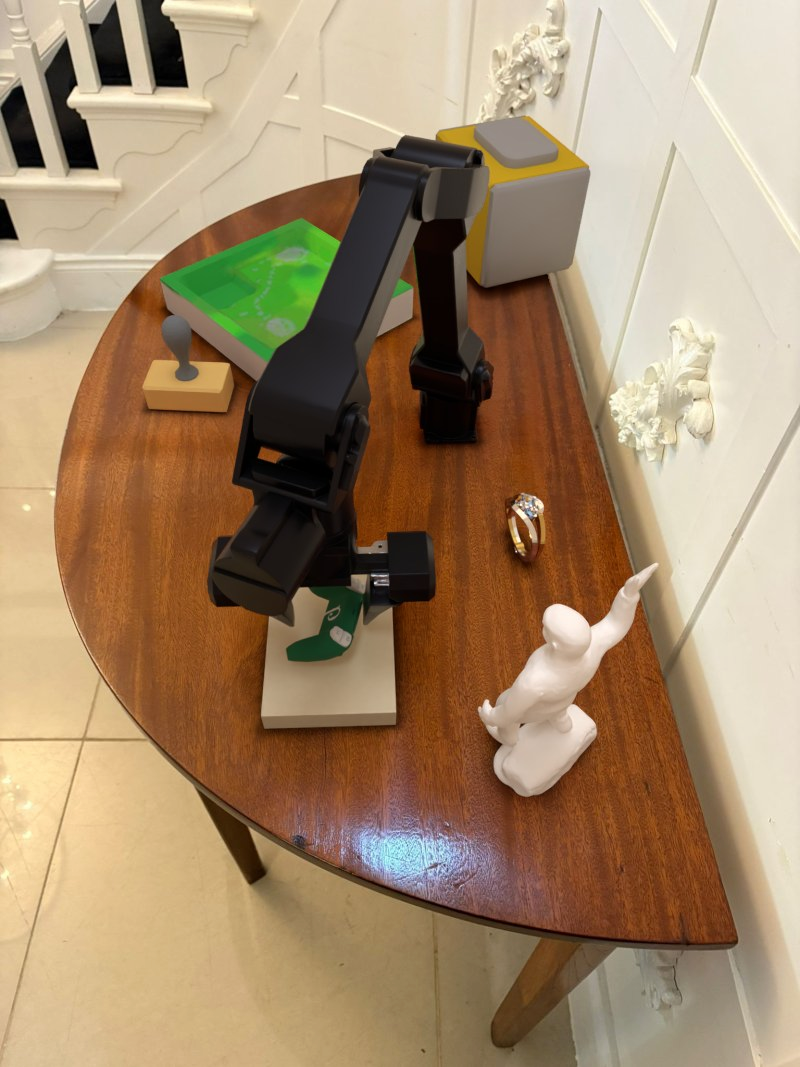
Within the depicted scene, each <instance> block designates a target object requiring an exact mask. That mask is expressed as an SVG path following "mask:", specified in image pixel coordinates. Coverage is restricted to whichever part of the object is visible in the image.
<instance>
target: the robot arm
mask: <svg viewBox="0 0 800 1067" xmlns="http://www.w3.org/2000/svg"><path fill="white" fill-rule="evenodd" d="M489 177H490V171H489V167H488V166H486V165H485V158H484V154H483V152H482V150H478V149H477V148H473V147H468V146H463V145H457V144H452V143H447V142H441V141H436V140H435V139H430V138H426V137H425V138H424V137H420V136H413V135H409V134H404V135H403V136H401V137H400V139H399V140H398V142H397V144H396V146H395V147H391V146H389V147H382V148H376V149H373V150H372V157H370V158H368V159H367V160H366V161H365V163H364V165H363V167H362V171H361V173H360V177H359V183H358V199H357V202H356V203H355V206H354V209H353V211H352V214H351V216H350V219H349V221H348V223H347V225H346V228H345V230H344V233H343V235H342V238H341V240H340V245H339V247H338V250H337V252H336V254H335V257H334V259H333V262H332V264H331V266H330V269H329V271H328V274H327V276H326V278H325V281H324V283H323V286H322V288H321V290H320V293H319V295H318V298H317V300H316V303H315V305H314V307H313V310H312V312H311V315H310V317H309V319H308V321H307V322H306V324H305V326H304V328H303V330H301V331H300V332H298V333H297V334H295V335H294V336H292V337H291V338H290V339H288V340H287V341H285V342H284V343H282V344H281V345H279V346H278V347H277V348H276V349H275V350H274V352H273V354H272V356H271V358H270V359H269V361H268V363H267V365H266V367H265V369H264V371H263V373H262V374H261V376H260V378H259V379H258V380H257V381H256V380H255V382H254V383H253V384H252V386H251V388H250V389H249V393H248V394H247V398H246V401H245V407H244V412H243V417H242V423H241V429H240V433H239V439H238V444H237V451H236V454H235V456H236V457H235V462H234V467H233V471H232V472H233V473H232V478H231V483H232V485H234V486H237V487H240V488H244V489H247V490H250V491H252V498H253V505H252V508H251V509H250V510H249V511H248V513H247V515H246V516H245V517H244V519H243V521H242V522H241V523H240V525H239V526H238V527H237V529H236V531H235V532H234V534H231V535H230V534H228V535H227V534H225V535H219V536H218V537H217V538H215V540H214V541H213V542H212V544H211V551H210V559H209V564H208V571H207V579H206V587H207V588H206V589H207V593H208V597H209V601H210V603H211V604H213V605H214V606H215V607H216V608H235V607H236V608H237V607H238V608H241V607H242V609H244V610H246V611H249V612H252V613H255V614H257V615H261V616H266V617H269V616H270V617H273V618H275V619H277V620H278V621H280V622H282V623H284V624H286V625H288V626H289V627H294V625H295V615H294V607H293V603H292V599H293V598H294V596H295V594H296V592H297V591H298V589H299V588H304V587H344V586H351V575H367V580H366V586H365V593H364V599H363V625H368V624H369V623H370V622H371V621H372V620H373V619H375V618H376V617H377V616H378V615H379V614H381V613H383V612H384V611H386V610H388V609H389V608H391V607H392V608H394V607H400V606H403V605H404V603H427V602H428V603H429V602H430V601H431V600H433V599H434V598H435V597H436V591H437V590H436V589H437V588H436V587H437V571H436V561H435V548H434V538H433V537H432V536H431V535H430V534H429V533H428V532H427V531H426V530H405V531H403V530H400V531H386V540H385V539H384V540H383V539H381V540H376V541H374V542H373V543H372V544H371V546H357V541H358V518H357V510H356V507H355V496H354V495H355V494H354V490H355V487H356V483H357V481H358V476H359V473H360V470H361V465H362V462H363V459H364V455H365V451H366V449H367V445H368V442H369V439H370V434H371V425H370V423H369V419H370V414H369V408H370V405H371V402H372V394H371V389H370V383H369V379H368V374H367V368H366V367H367V364H368V362H369V358H370V355H371V351H372V350H373V347H374V344H375V341H376V339H377V334H378V332H379V329H380V327H381V324H382V321H383V319H384V316H385V314H386V311H387V309H388V306H389V304H390V301H391V299H392V296H393V293H394V291H395V288H396V286H397V283H398V281H399V278H400V279H401V276H402V273H403V271H404V268H405V265H406V263H407V261H408V257H409V255H410V253H411V250H412V253H413V261H414V270H415V277H416V278H415V279H416V285H417V286H416V287H417V294H418V296H417V297H418V304H419V312H420V320H421V328H422V333H421V335H420V337H419V339H418V343H416V344H415V345H414V347H413V348H412V351H411V354H410V358H409V364H408V374H409V377H410V385H411V390H413V391H416V392H417V391H419V393H418V394H419V395H418V425H419V429H420V430H421V431H422V432H423V433H422V434H423V441H424V443H425V444H427V445H428V444H474V443H476V442H478V434H477V426H476V424H477V416H478V410H479V408H480V407H481V405H482V403H483V402H485V401H487V400H488V401H489V400H490V399H491V398H492V396H493V388H494V383H493V381H494V372H495V367H494V366H493V365H492V363H490V362H489V360H486V351H485V343H484V340H483V339H482V338H481V337H480V336H479V335H478V334H477V333H476V332H475V331H474V330H473V329H472V328H471V327H470V325H469V310H468V309H469V308H468V306H469V305H468V277H467V269H466V243H465V239H466V238H467V236H468V233H469V231H470V229H471V226H472V224H473V222H474V219H475V217H476V215H477V213H479V212H480V211H481V209H482V207H483V205H484V202H485V199H486V195H487V191H488V186H489ZM262 449H265V450H269V451H272V452H276V453H278V454H279V453H280V454H281V455H280V456H279V457H278V459H277V460H276V461H275V462H273V461H270V460H267V459H264V458H260V457H259V456H260V452H261V450H262Z"/></svg>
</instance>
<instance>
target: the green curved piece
mask: <svg viewBox="0 0 800 1067" xmlns="http://www.w3.org/2000/svg"><path fill="white" fill-rule="evenodd" d="M308 588H309V589H310V591H311V592H312V593H313V594H315V595H316V596H318V597H321V598H323V599H326V600H329V603H328V606H327V609H326V612H325V615H324V618H323V621H322V625H321V628H320V631H319V634H318V635H315V636H311V637H308V638H304V639H301V640H299V641H296V642H294V643H293V644H291V645H289V646H288V647H287V648H286V653H287V658H288V661H296V662H314V661H324V660H329V659H332V658H335V657H337V656H342V655H343V653H344V652H345V651H346V650H348V649H349V647H350V645H351V643H352V641H353V638H354V636H353V635H354V632H355V629H356V626H357V623H358V619H359V615H360V612H361V608H362V604H363V599H364V593H365V584H364V583H363V582H362V581H360V580H358V579H356V578H354V577H351V586H344V587H308Z"/></svg>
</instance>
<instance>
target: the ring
mask: <svg viewBox="0 0 800 1067" xmlns="http://www.w3.org/2000/svg"><path fill="white" fill-rule="evenodd" d="M544 511H545V506H544V503H543V501H542V500H540V498H538V497H537V496H535V495H533V494H530V493H527V492H521V493H517V494H514V495H513V496H511V497H507V498H505V499H504V514H505V521H506V525H507V529H508V534H509V537H510V540H511V543H512V546H513V551H514V553H515V554H516V555H517V556H518V557H519V559H520V560H522V561H523V562H532V561H537V560H538V559H539V558H540V557H541V555H542V553H543V551H544V547H545V544H546V534H547V533H546V522H545V517H544V514H543V513H544ZM516 515H517V516H518V517H519V518H520V520H521V521H522V522H523V524H524V525H525V527H526V528H527V530H528V533H529V537H530V549H529V552H528V551H527V550H526V549H525V544H524V542H523V541H522V540H521V538H520V535H519V531H518V528H517V522H516ZM533 522H535V525H536V528H535V526H534V524H533ZM536 531H537V532H536Z"/></svg>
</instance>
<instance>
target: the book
mask: <svg viewBox="0 0 800 1067" xmlns="http://www.w3.org/2000/svg"><path fill="white" fill-rule="evenodd" d="M351 577H354V578H356V579H358V580H360V581H362V582H363V583H364V584H365V586H366V580H367V575H351ZM292 603H293V607H294V615H295V625H294V627H289V626H288V625H286V624H284V623H282V622H280V621H278V620H277V619H275V618H273V617H270V616H268V624H267V638H266V649H265V660H264V661H265V662H264V674H263V684H262V685H263V686H262V698H261V709H260V710H261V711H260V719H261V721H262V725H263V728H264V730H266V729H267V730H268V729H296V728H297V729H298V728H301V729H302V728H334V727H335V728H336V727H358V726H359V727H364V726H365V727H366V726H367V727H368V726H396V725H397V696H396V695H397V694H396V670H395V668H396V667H395V644H394V617H393V607H391V608H389V609H388V610H386V611H384V612H383V613H381V614H379V615H378V616H377V617H376V618H375V619H373V620H372V621H371V622H370V623H369V624H368V625H363V604H362V608H361V612H360V615H359V619H358V623H357V626H356V629H355V632H354V635H353V636H354V638H353V641H352V643H351V645H350V647H349V649H348V650H346V651H345V652H344V653H343V655H342V656H337V657H335V658H332V659H329V660H324V661H314V662H296V661H288V658H287V653H286V648H287V647H288V646H289V645H291V644H293V643H294V642H296V641H299V640H301V639H304V638H308V637H311V636H315V635H318V634H319V631H320V628H321V625H322V621H323V618H324V615H325V612H326V609H327V606H328V603H329V600H326V599H323V598H321V597H318V596H316V595H315V594H313V593H312V592H311V591H310V589H309V588H308V587H304V588H299V589H298V591H297V592H296V594H295V596H294V598H293V599H292Z"/></svg>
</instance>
